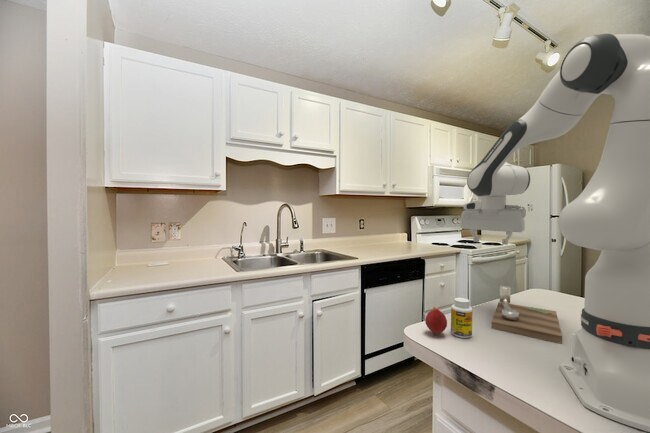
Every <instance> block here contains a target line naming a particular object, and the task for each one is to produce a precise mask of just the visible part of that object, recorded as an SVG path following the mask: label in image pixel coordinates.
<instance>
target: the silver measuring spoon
mask: <svg viewBox="0 0 650 433" xmlns="http://www.w3.org/2000/svg"><path fill="white" fill-rule="evenodd" d="M511 289H512V288H511V287H510V286H507V285H500V286H499V302H502V305H503V307H504V309H503V310H502V317H504V318H506V319H510V320H518V319H519V312H517V311H515V310H511V308H510V306H509V304H511V293H512V292H511ZM508 303H509V304H508Z"/></svg>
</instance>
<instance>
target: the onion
mask: <svg viewBox="0 0 650 433" xmlns="http://www.w3.org/2000/svg"><path fill="white" fill-rule="evenodd" d="M424 322H425V325H426V327H427V329H428V330H430V331H431V332H432V333H433V335H438V334H439V335H440V334H441V333H443V332H444V331H445V330H446V328H447V327H448V320H447V317H446V315H445V314H444V313H443V312H442V311H441V310H440V309H439V308H438V307H437V306H433V309H432V310H431V309H430V311H428V312H427V314H426V315H425V319H424Z"/></svg>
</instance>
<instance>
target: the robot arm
mask: <svg viewBox="0 0 650 433" xmlns="http://www.w3.org/2000/svg"><path fill="white" fill-rule="evenodd" d="M602 94H604V95H608V96H612V97H613V99H614V100H615V101H614V102H615V104H614V109H613V113H612V115H611V119H610V124H609V128H608V132H607V135H606V140H605V143H604V147H603V149H602V150H603V151H602V153H601V158H600V160H599V163H598V166H597V167H596V170H595V171H594V172H593V175H592V176H591V177H590V180H589V181H588V182H587V184H586V186H585V188H584V189H583V190H582V192H580V194H578V196H577V197H576V198H575V199H573V200H572V201H570V202H569V203H568V204H566V205H565V206H564V207H562V208H563V209H561V211H560V213H559V217H558V228H559V231H560V233H561V235H562V236H563V238H564V239H565V240H567V242H569V243H571V244H572V245H575V246H577V247H583V248H586V249H591V250H595V251H600V255H599V256H598V259H597V261H595V264H593V266H592V267H591V268H590V269H589V270H588V271H587V272H586V274H585V276H584V305H583V306H584V308H582V309H581V314H580V326H581V328H580V329H579V330H577V331H575V332H574V333H572V334H571V343H570V356H569V357H570V360H569V362H560V363H559V370H560V371H561V373H562V375H563V376H564V377H565V379H566V381H567V382H568V384H569V385H570V387H571V389H572V390H573V392H574V394H576V397H577V398H578V400H579V401H580V402H581V404H582V405H583V406H584V407H585V408H587V409H588V410H590V411H592V412H594V413H596V414H598V415H600V416H603V417H605V418H607V419H610V420H613V421H614V422H615V421H616V422H618V423H620V424H623V425H626V426H629V427H632V428H635V429H639V430H642V431H645V432H648V433H650V35H646V34H642V33H620V34H611V33H601V34H595V35H594V34H593V35H591V36H587V37H585V38H582V39H581V40H579V41H578V42H576V43H575V44H574V45H573V46H572V47H571V48H570V50H568V52H567V53H566V55H565V57H564V58H563V60H562V62H561V65H560V69H559V70H558V71H557V72H556V74H555V75H554V76H553V77H552V79H551V80H550V81H549V82H548V84H547V85H546V87H545V88H544V89H543V91H542V92H541V94H540V95H539V97H538V99H537V100H536V101H535V103H534V104H533V105H532V106H531V108H530V109H528V110H527V112H526V113H525V114H523V116H521V117H519V119H517V120H516V121H514V122H512V123H511V124H510V125H508V126H507V127H506V129H505V130H504V131H503V133H502V134H501V135H500V136H499V137H498V139H497V140H496V141H495V143H494V144H493V146H491V147H490V149H489V150H488V152H487V153H486V154H485V156H484V157H483V158H482V159H481V161H480V162H478V163H477V165H475V167H473V168H472V169H471V170H470V172H469V173H468V175H467V181H466V184H467V188H468V189H469V191H471V193H473V194H474V195H475V196H476V197H477V200H475V201H471V202H467V203H464V204H463V211H462V212H461V215H460V216H461V217H460V223H459V226H460V228H461V229H462V230H469V231H470V232H469V233H470V234H471V236H472V237H473V241H472V242H474V243H475V242H476V243H479V242H480V236H477V234H476V233H477V231H491V232H504V233H505V235H506V237H505V238H502V239H501V240H502V245H505V246H506V245H507V246H508V245H509V240H510V238H511V237H512V236H513V233H523V232H524V231H525V230H526V224H525V217H526V215H527V214H526V212H527V210H526V208H525V206H521V205H520V204H516V205H514V204H513V205H512V204H507V196H516V195H521V194H523V193H525V192H526V191H527V190H528V189H529V187H530V183H531V174H530V172H529V171H528V169H527V168H526V167H525V166H519V165H515V164H512V163H509V162H507V161H508V160H509V159H510V158H511V157H512V156H513V155H514V153H515V152H517V151H519V150H520V149H523V148H525V147H526V146H530V145H534V144H536V143H540V142H545V141H549V140H552V139H553V140H554V139H557V138H559V137H562V136H564V135H565V134H567V133H568V132H569V131H570V130H572V129H573V128H574V127H575V126H576V125H577V124H578V123H579V121H580V120H581V119H582V118H583V116H584V115H585V113H586V112H587V111H588V110H589V108H590V107H591V106H592V104H593V102H594V101H595V100H596V99H597V98H598V97H599V96H600V95H602Z"/></svg>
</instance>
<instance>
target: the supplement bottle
mask: <svg viewBox="0 0 650 433" xmlns="http://www.w3.org/2000/svg"><path fill="white" fill-rule="evenodd" d="M470 304H471V303H470V300H469V299H468V298H465V297H455V298H454V299H453V304H452V305H451V306H450V310H451V311H450V333H451V334H452V335H453V336H455V337H457V338H461V339H469V338H472V336H473V311H474V310H473V308H472V306H471V305H470Z"/></svg>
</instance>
